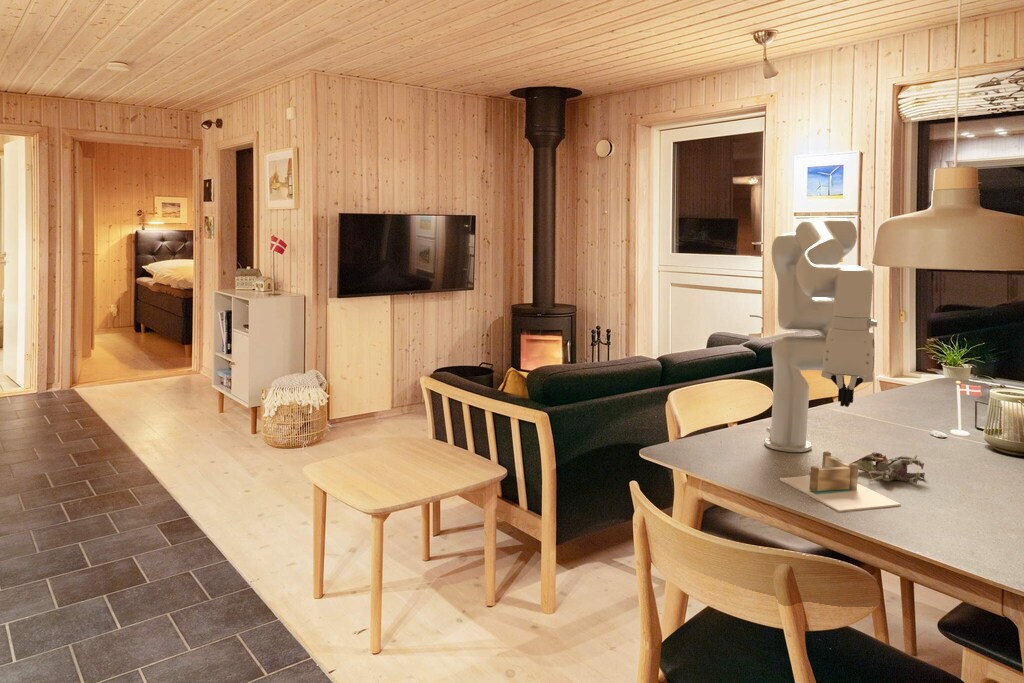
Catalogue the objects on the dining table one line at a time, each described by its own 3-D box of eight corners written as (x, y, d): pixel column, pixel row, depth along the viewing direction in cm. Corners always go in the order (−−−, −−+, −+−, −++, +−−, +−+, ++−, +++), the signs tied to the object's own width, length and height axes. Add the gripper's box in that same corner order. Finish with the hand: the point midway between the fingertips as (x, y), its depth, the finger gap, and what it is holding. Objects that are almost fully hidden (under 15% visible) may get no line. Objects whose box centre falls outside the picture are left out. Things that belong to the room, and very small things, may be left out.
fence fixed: (819, 475, 189) (821, 452, 188) (826, 474, 189) (828, 451, 188) (851, 490, 177) (853, 466, 176) (858, 490, 178) (860, 465, 177)
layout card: (779, 479, 186) (780, 478, 186) (836, 474, 190) (836, 473, 190) (838, 512, 165) (838, 510, 165) (900, 505, 169) (900, 503, 169)
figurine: (909, 473, 176) (835, 459, 187) (908, 498, 177) (834, 482, 188) (932, 449, 190) (862, 438, 201) (931, 472, 191) (861, 460, 203)
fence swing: (844, 486, 179) (846, 464, 178) (849, 489, 177) (851, 466, 177) (807, 488, 177) (809, 466, 177) (812, 491, 176) (813, 469, 175)
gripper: (890, 324, 166) (883, 406, 169) (817, 320, 174) (812, 398, 177) (886, 328, 160) (880, 413, 163) (812, 323, 167) (806, 404, 170)
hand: (845, 405), depth 170 cm, fingers closed
